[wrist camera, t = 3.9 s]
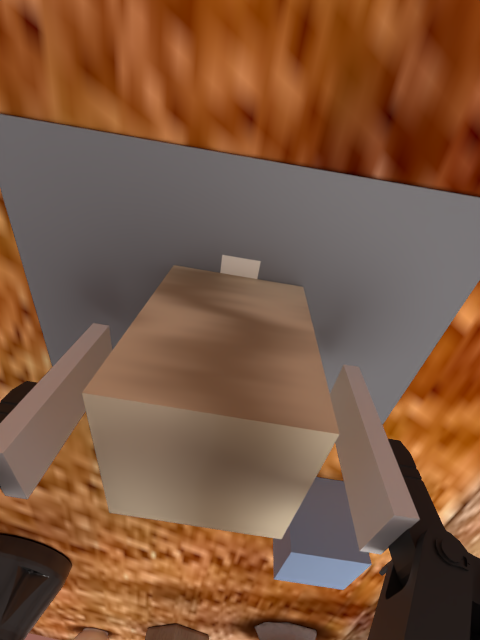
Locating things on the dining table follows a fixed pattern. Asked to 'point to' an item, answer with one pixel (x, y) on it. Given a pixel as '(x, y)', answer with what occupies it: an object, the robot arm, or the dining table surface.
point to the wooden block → (174, 633)
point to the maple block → (213, 406)
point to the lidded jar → (92, 634)
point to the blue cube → (321, 540)
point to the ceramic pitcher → (284, 632)
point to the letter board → (236, 242)
